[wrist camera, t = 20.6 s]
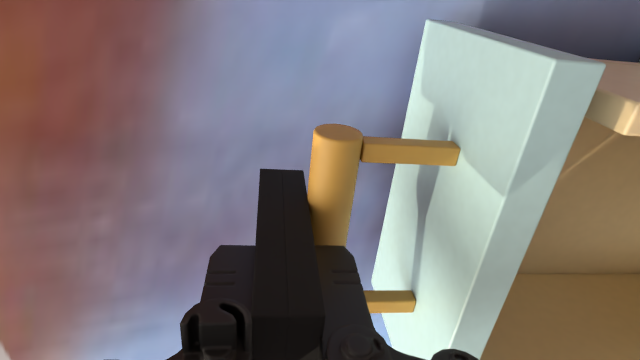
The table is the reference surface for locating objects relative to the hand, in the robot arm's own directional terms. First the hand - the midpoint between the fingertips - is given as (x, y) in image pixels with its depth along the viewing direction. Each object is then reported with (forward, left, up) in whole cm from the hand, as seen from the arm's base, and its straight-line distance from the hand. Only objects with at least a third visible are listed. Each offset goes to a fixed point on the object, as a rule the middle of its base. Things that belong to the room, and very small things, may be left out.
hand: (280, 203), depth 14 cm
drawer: (-7, -9, -3) cm, 12 cm away
